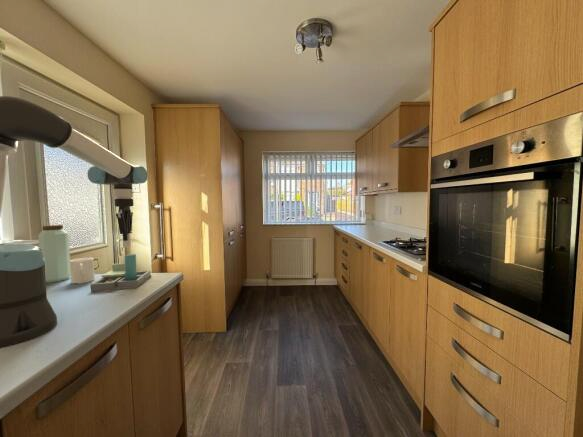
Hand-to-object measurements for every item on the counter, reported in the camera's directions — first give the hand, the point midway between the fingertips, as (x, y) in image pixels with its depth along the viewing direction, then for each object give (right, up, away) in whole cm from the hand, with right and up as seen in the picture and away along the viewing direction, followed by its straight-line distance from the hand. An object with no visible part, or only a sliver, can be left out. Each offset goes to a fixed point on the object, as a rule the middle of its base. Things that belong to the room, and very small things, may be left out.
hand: (127, 247), depth 122 cm
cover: (+2, -11, -10) cm, 15 cm away
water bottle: (-28, -15, -7) cm, 32 cm away
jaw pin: (+12, -14, -15) cm, 24 cm away
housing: (+7, -14, -13) cm, 21 cm away
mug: (-13, -15, -10) cm, 22 cm away
